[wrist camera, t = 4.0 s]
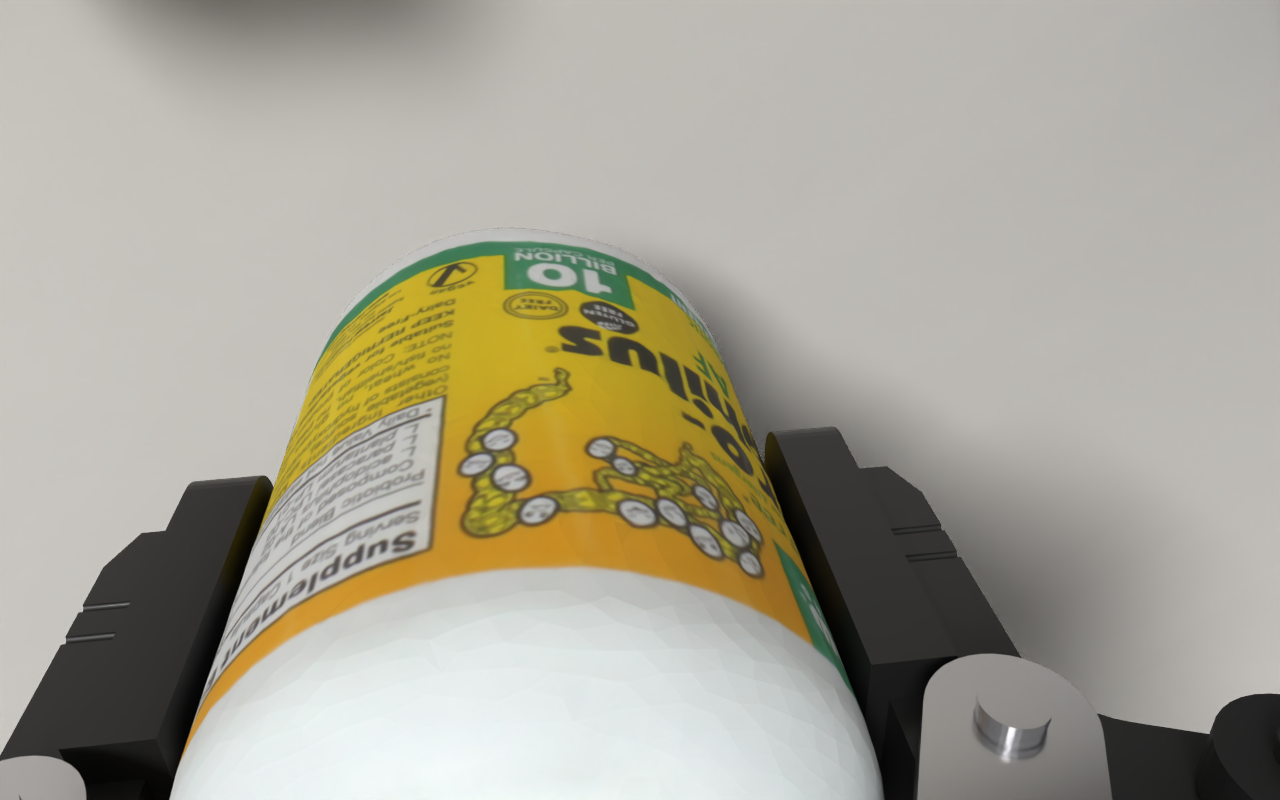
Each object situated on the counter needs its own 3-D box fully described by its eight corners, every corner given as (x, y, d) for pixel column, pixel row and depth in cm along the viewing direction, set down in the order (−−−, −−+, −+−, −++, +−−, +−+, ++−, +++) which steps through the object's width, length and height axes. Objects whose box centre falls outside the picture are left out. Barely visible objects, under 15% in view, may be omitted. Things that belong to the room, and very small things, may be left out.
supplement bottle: (229, 389, 13) (-308, 1459, 4) (547, 120, 11) (636, 916, 3) (511, 619, 15) (508, 1577, 7) (800, 419, 14) (1222, 1304, 6)
